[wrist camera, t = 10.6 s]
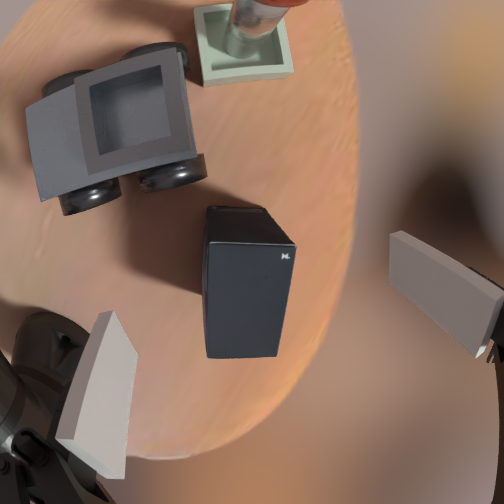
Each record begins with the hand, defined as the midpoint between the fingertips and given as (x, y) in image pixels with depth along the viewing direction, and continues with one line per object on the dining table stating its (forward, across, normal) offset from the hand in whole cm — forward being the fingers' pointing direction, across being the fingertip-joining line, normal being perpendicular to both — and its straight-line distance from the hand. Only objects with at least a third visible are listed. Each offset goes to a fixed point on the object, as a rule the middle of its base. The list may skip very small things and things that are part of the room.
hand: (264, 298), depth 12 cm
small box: (+18, 0, -5) cm, 18 cm away
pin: (+16, +5, +16) cm, 24 cm away
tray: (+17, +5, +16) cm, 24 cm away
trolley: (+18, -7, +10) cm, 22 cm away
